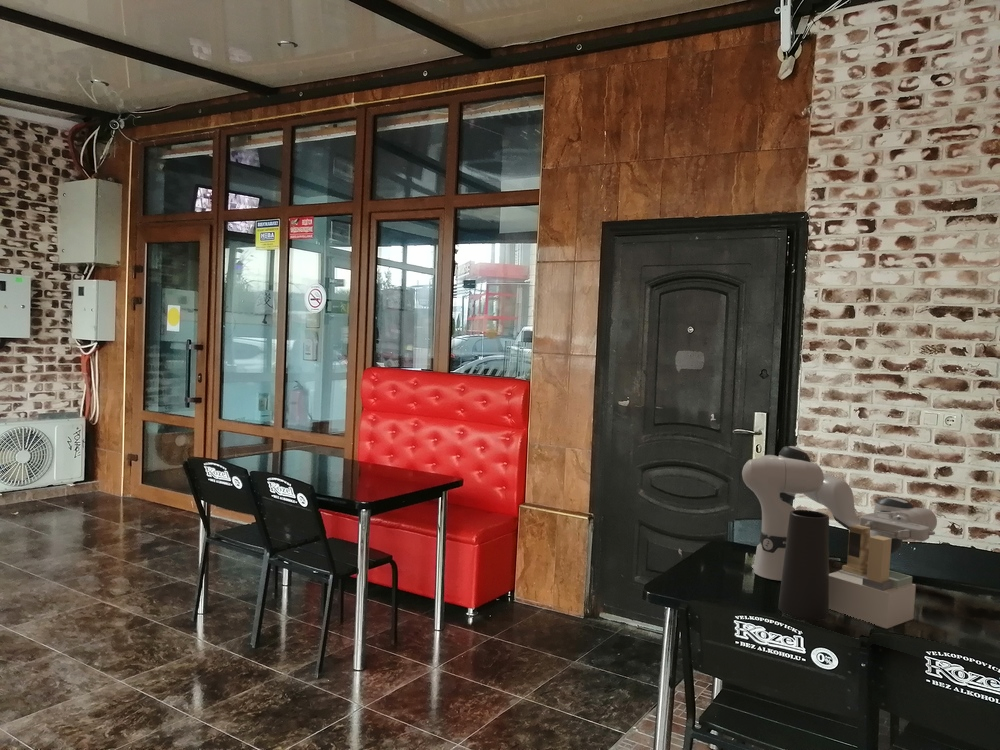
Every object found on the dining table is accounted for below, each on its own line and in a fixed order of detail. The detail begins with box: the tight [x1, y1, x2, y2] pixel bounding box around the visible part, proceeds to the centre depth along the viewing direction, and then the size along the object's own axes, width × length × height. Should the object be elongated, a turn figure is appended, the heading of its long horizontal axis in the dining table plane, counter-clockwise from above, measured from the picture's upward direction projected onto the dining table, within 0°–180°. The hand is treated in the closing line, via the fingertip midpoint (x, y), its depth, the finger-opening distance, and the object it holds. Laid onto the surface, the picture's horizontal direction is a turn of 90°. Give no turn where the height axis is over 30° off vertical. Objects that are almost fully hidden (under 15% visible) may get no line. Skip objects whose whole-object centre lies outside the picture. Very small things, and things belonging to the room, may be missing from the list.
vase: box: [777, 509, 830, 622], centre depth 233 cm, size 14×14×29 cm
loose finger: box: [841, 525, 870, 576], centre depth 240 cm, size 6×6×14 cm
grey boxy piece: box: [829, 535, 917, 630], centre depth 234 cm, size 15×19×24 cm
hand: (881, 530), depth 247 cm, fingers open, 8 cm apart
